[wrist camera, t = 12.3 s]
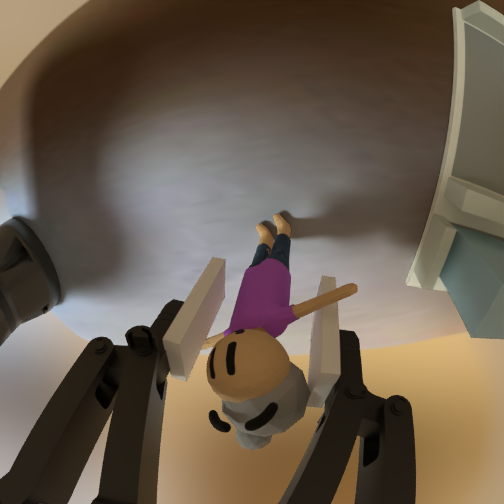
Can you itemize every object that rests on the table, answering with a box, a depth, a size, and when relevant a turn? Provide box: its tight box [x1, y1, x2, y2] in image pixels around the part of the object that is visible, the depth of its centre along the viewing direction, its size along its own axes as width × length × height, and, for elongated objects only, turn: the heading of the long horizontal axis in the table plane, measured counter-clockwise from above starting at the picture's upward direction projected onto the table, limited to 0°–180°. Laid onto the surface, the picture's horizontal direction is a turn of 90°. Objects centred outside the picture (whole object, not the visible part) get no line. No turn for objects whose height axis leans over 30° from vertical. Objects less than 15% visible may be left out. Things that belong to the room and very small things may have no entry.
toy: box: [201, 214, 358, 450], centre depth 15 cm, size 10×6×15 cm, turn 126°
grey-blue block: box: [439, 225, 504, 339], centre depth 14 cm, size 7×4×8 cm, turn 85°
